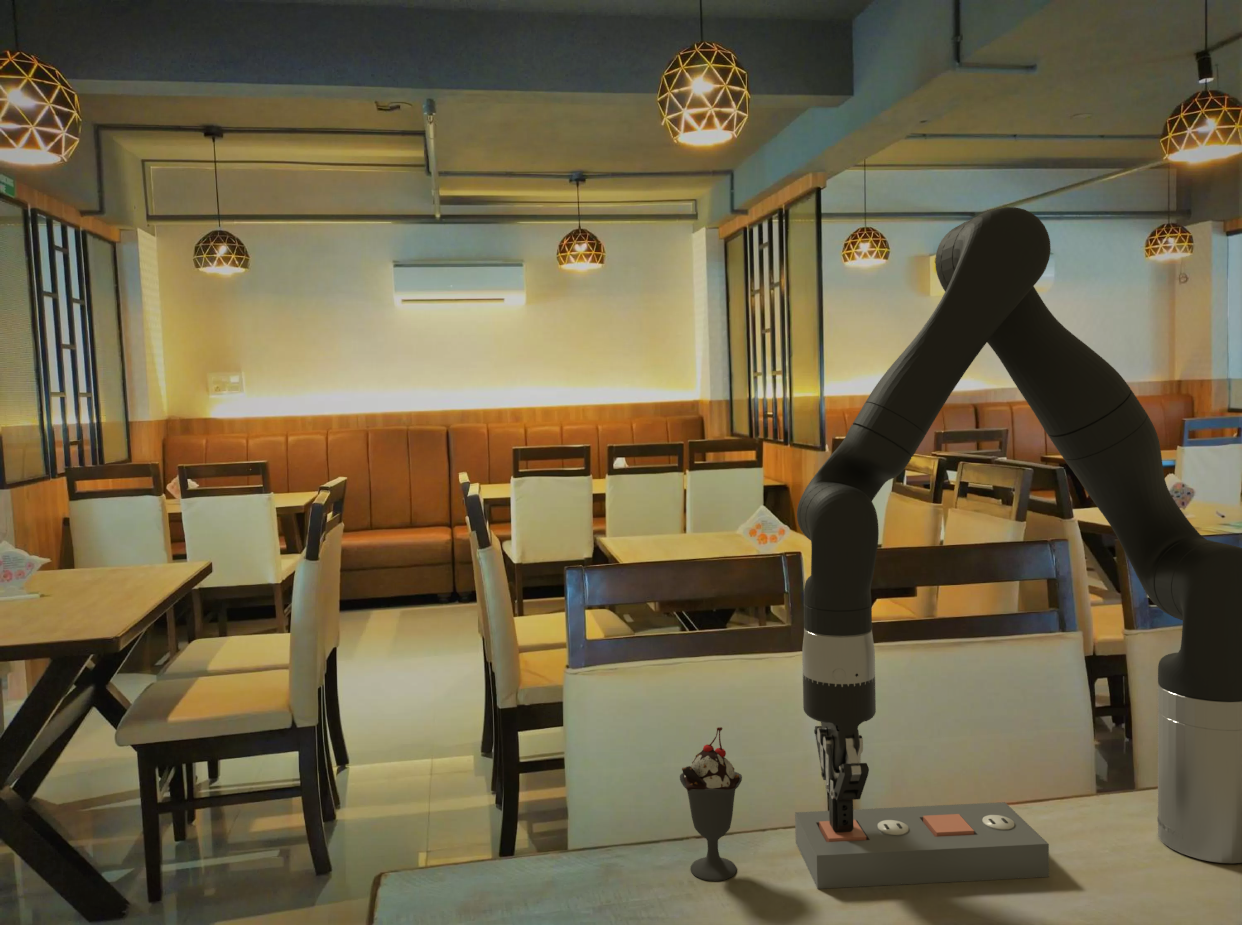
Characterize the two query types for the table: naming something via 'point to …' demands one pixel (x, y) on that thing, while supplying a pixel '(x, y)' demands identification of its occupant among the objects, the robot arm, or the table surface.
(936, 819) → the switch
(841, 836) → the switch
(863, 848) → the power strip
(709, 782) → the sundae
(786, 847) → the table surface
